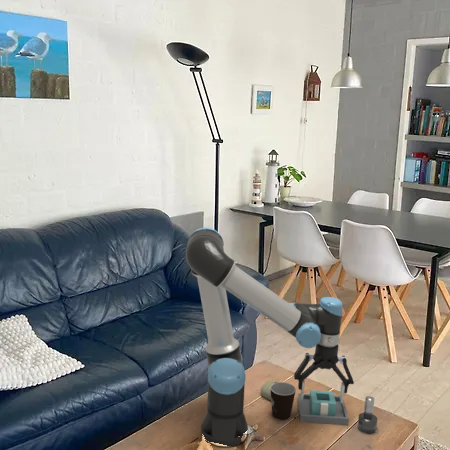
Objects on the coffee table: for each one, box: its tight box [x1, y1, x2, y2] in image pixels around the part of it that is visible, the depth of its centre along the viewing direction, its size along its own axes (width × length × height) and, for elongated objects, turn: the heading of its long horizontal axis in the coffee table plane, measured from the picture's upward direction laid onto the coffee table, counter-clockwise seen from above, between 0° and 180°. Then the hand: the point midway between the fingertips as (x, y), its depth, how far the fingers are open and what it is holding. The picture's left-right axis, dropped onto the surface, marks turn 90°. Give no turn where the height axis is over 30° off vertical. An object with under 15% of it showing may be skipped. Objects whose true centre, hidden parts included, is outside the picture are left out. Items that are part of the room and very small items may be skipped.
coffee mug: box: [270, 381, 297, 421], centre depth 183 cm, size 12×9×10 cm
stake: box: [357, 395, 378, 435], centre depth 175 cm, size 6×6×11 cm
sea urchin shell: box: [260, 380, 279, 401], centre depth 194 cm, size 9×8×8 cm
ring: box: [309, 389, 336, 417], centre depth 184 cm, size 9×8×5 cm
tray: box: [297, 393, 350, 426], centre depth 185 cm, size 16×14×2 cm
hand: (321, 399), depth 184 cm, fingers open, 13 cm apart
